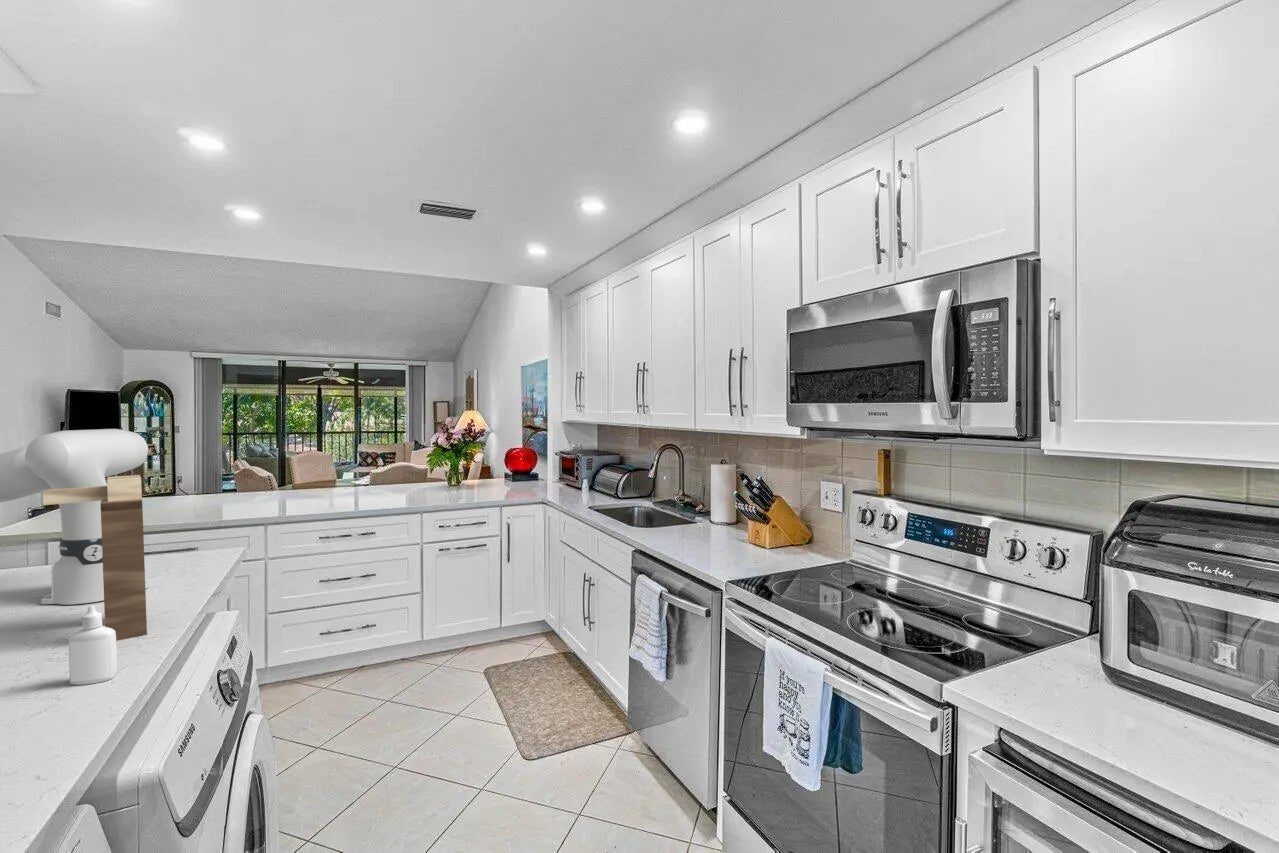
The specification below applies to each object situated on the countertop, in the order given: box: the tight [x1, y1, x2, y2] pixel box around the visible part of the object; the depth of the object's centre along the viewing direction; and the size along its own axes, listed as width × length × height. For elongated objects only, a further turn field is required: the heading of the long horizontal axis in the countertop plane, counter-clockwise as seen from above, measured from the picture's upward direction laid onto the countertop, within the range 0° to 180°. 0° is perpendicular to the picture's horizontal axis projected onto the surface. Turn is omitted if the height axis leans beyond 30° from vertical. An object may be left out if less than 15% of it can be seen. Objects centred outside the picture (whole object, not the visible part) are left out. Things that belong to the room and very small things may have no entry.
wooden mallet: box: [42, 474, 143, 506], centre depth 117 cm, size 8×14×4 cm, turn 130°
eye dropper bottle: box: [68, 605, 118, 686], centre depth 98 cm, size 4×6×12 cm
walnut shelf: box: [101, 498, 148, 641], centre depth 121 cm, size 14×6×26 cm, turn 40°
